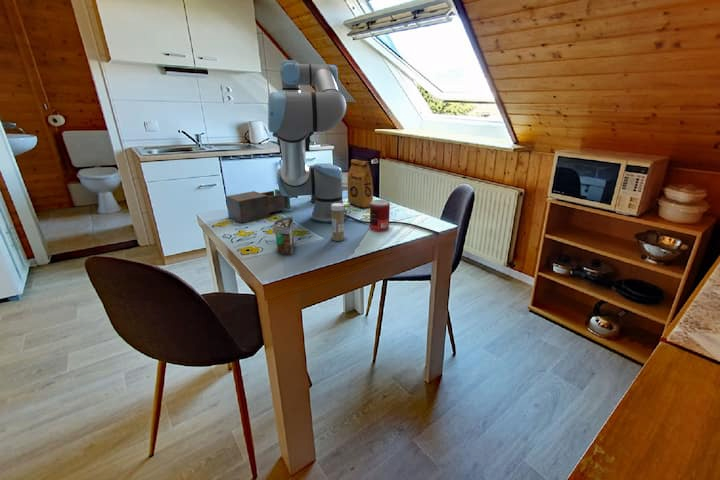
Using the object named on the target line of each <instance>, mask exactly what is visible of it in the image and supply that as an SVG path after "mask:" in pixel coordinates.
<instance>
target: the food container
mask: <svg viewBox="0 0 720 480" xmlns="http://www.w3.org/2000/svg"><path fill="white" fill-rule="evenodd" d="M293 219H294V218H293V216H286V217H281V218H278V219H276V220H274V221H273V224H272V231H273V232H274V235H275V241H276V247H277V251H278V253H279V254H282V255H287V256H291V255H292V254H293V250H294V246H295V240H294V237H295V236H294V220H293Z"/></svg>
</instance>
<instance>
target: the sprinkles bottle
mask: <svg viewBox="0 0 720 480" xmlns="http://www.w3.org/2000/svg"><path fill="white" fill-rule="evenodd" d="M343 204H344V203H343ZM343 204H342V203H334V204H332V205H331V210H332V223H331V231H332V235H331V239H332V240H333V241H336V242H341V241H343V240H345V234H344V233H345V223H344V222H345V220H344V219H343V210H344V207H345V204H344V205H343Z"/></svg>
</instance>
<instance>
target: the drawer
mask: <svg viewBox="0 0 720 480" xmlns="http://www.w3.org/2000/svg"><path fill="white" fill-rule="evenodd" d="M260 193H261V194H264V195H268V203H269V214H271V213H275V212H279V211H284V210H291V199H297V198H299V196H291V197H289V196H283V195H282V194H281V193H280V191H279V188H278V189H277V188H276V189H274V190H270V191H264V192H260Z"/></svg>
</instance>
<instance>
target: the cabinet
mask: <svg viewBox="0 0 720 480" xmlns="http://www.w3.org/2000/svg"><path fill="white" fill-rule="evenodd" d="M261 193H262V192H258V191H255V190H253V191H247V192H241V193H236V194H231V195H230V194H229V195H226V196H225V199H226V207H227V214H228V218H230V219H231V220H234V221H236V222H238V223H240V224H245V223H249V222H254V221H257V220H260V219H265V218H270V217H271V215H270V214H271V213H269V203H268V195H264V194H261Z"/></svg>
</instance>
